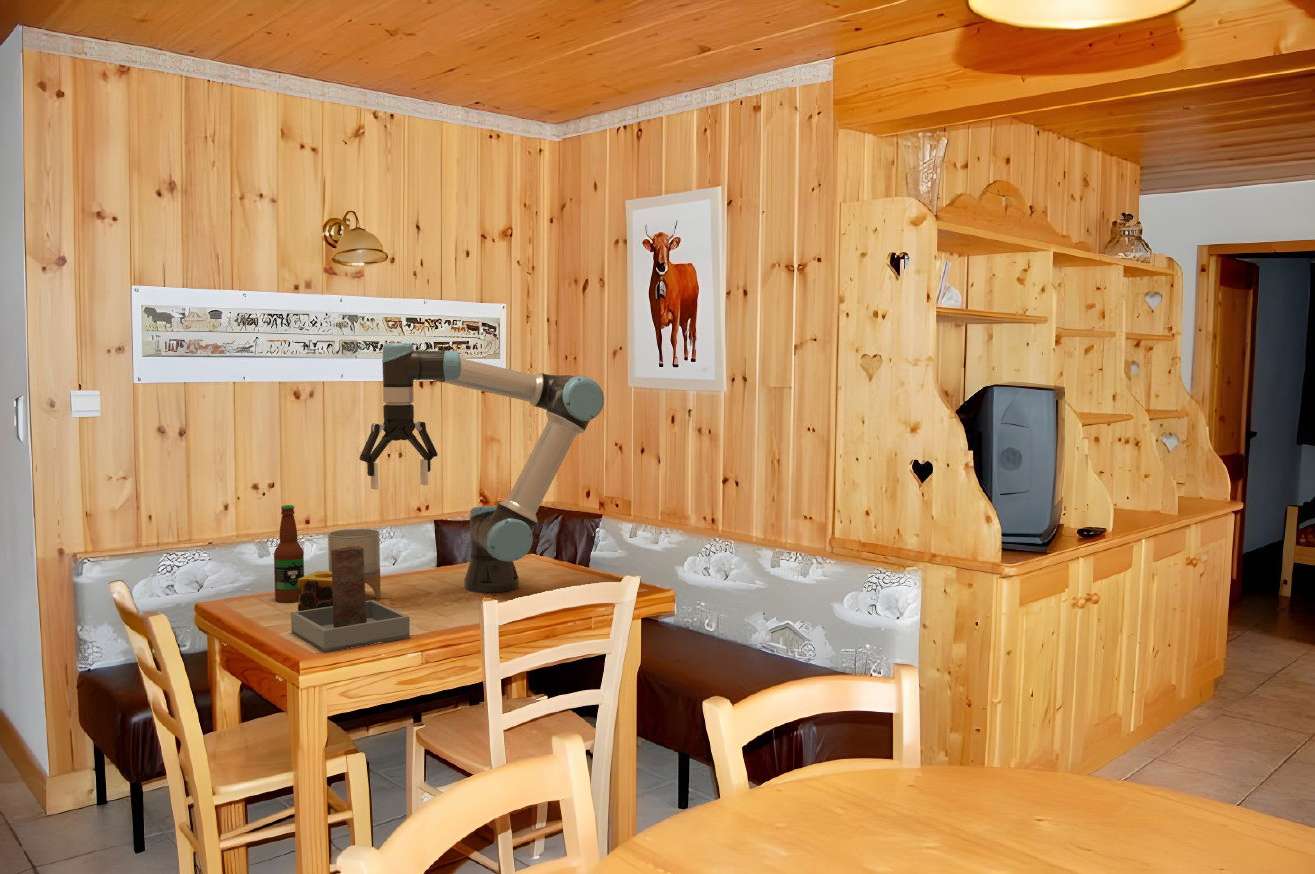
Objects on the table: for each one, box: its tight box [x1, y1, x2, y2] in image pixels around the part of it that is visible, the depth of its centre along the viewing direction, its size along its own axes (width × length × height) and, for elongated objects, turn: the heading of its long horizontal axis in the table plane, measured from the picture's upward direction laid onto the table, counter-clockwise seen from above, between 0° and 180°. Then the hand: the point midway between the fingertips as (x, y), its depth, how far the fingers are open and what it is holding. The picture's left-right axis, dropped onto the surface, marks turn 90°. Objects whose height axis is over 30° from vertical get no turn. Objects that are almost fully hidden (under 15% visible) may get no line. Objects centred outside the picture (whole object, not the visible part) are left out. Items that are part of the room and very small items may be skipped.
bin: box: [290, 599, 411, 654], centre depth 241 cm, size 20×20×5 cm
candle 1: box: [297, 570, 333, 611], centre depth 260 cm, size 10×10×10 cm
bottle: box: [273, 504, 305, 604], centre depth 274 cm, size 7×7×25 cm
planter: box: [327, 527, 382, 599], centre depth 276 cm, size 13×13×18 cm
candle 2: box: [331, 545, 367, 628], centre depth 240 cm, size 8×7×20 cm
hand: (399, 486), depth 268 cm, fingers open, 13 cm apart
